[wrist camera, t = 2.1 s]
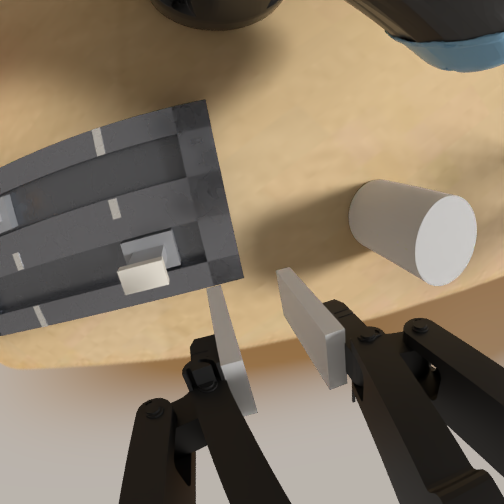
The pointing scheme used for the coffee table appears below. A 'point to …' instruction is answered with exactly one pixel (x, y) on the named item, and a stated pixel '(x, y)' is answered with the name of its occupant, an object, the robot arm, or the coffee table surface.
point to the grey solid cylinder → (415, 228)
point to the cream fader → (148, 261)
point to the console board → (113, 217)
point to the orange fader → (7, 214)
